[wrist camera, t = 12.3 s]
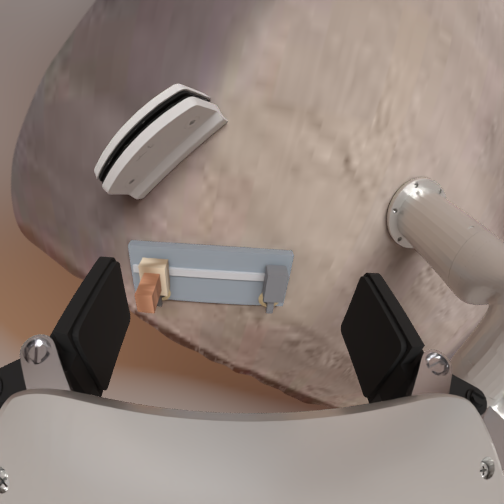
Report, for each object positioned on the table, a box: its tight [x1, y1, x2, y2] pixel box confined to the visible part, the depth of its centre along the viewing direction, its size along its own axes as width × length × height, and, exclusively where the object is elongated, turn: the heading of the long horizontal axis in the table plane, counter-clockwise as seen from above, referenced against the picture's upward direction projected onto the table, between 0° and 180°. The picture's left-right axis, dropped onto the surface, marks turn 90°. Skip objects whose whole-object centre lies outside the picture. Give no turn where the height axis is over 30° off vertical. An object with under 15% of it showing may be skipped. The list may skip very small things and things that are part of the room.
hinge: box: [94, 84, 228, 199], centre depth 30 cm, size 17×5×10 cm, turn 129°
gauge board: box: [128, 240, 294, 313], centre depth 42 cm, size 25×10×5 cm, turn 84°
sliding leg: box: [135, 258, 170, 313], centre depth 39 cm, size 4×8×8 cm, turn 174°
